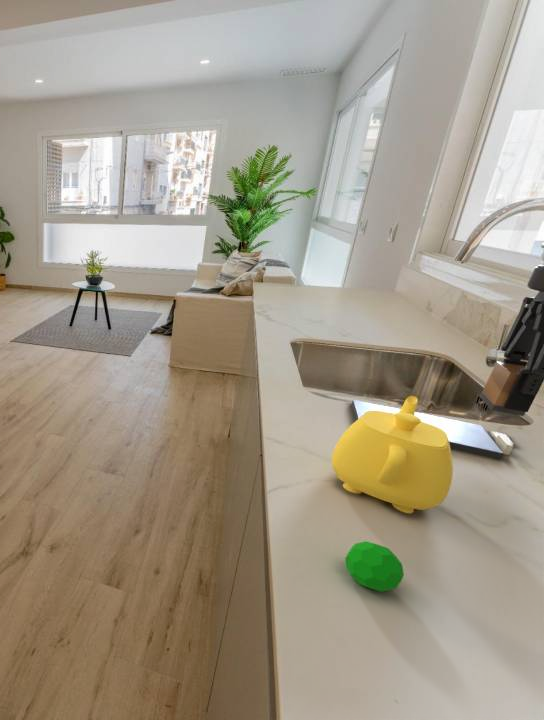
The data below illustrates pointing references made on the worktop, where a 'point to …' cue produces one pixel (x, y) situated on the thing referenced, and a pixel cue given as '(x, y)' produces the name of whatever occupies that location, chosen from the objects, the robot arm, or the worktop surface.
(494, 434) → the white flat block
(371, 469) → the teapot
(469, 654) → the worktop surface
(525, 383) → the robot arm
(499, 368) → the brown block
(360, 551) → the polyhedron
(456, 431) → the slate board
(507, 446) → the white small block
